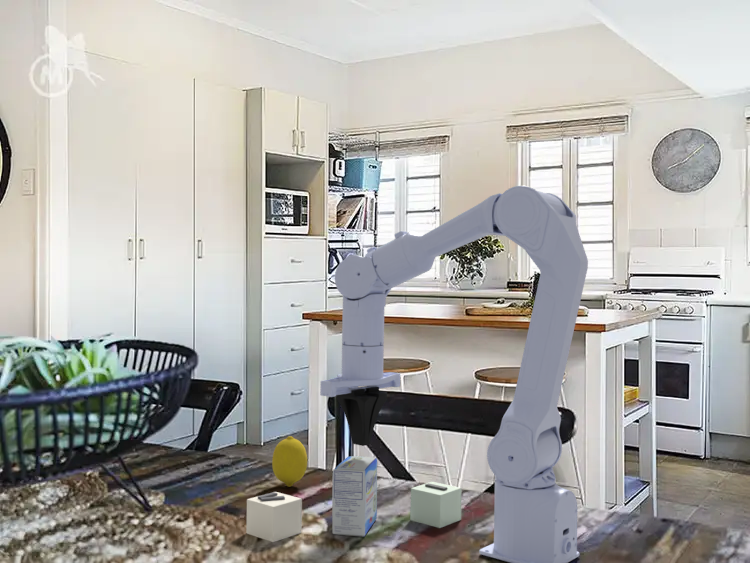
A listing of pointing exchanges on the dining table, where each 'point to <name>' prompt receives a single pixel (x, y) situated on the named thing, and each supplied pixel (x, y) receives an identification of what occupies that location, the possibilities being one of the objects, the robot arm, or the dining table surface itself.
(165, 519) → the dining table surface
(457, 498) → the sage digit block
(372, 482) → the medicine box
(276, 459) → the lemon
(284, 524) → the cream digit block
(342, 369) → the robot arm
